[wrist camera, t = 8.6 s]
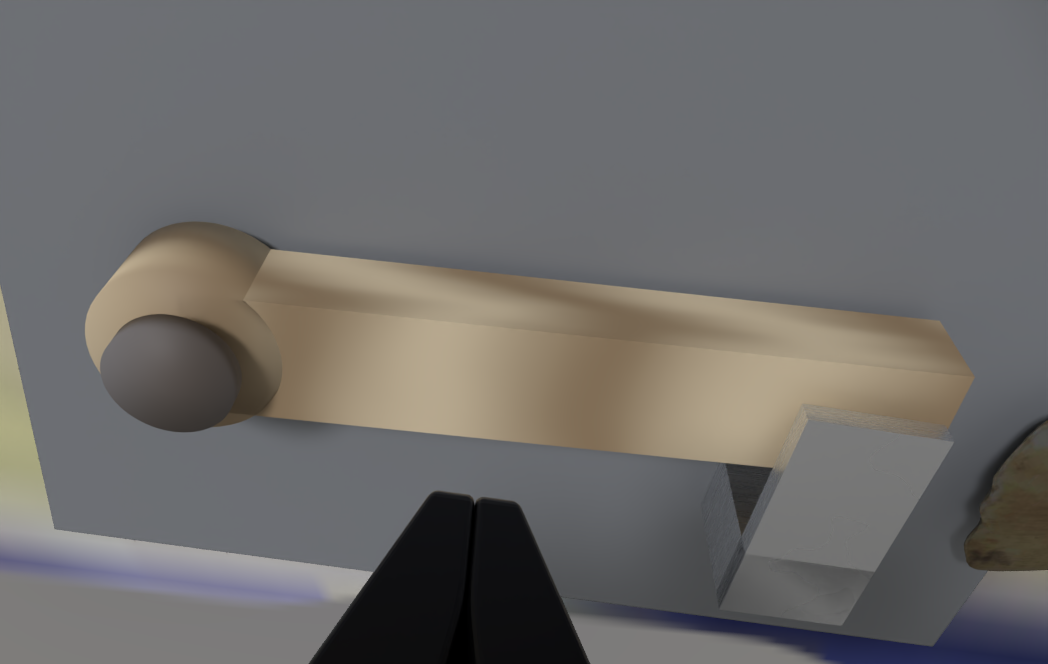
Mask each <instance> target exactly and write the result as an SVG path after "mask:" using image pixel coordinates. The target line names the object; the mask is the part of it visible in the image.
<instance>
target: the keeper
mask: <svg viewBox="0 0 1048 664" xmlns="http://www.w3.org/2000/svg"><path fill="white" fill-rule="evenodd" d="M953 443H954V440H953V438H952V437H951V435H950V433H949V431H948V429H947V427H946V426H945V425H941V424H934V423H928V422H921V421H915V420H908V419H901V418H895V417H888V416H882V415H875V414H868V413H862V412H855V411H849V410H842V409H835V408H829V407H822V406H815V405H809V404H802V405H801V408H800V410H799V412H798V414H797V416H796V419H795V421H794V423H793V425H792V427H791V429H790V432H789V434H788V436H787V438H786V440H785V443H784V445H783V447H782V449H781V451H780V453H779V456H778V458H777V460H776V462H775V464H774V467H773V468H770V467H760V466H750V465H740V464H730V463H720V462H718V464H717V467H716V469H715V472H714V474H713V477H712V479H711V481H710V484H709V486H708V489H707V491H706V494H705V496H704V499H703V501H702V504H701V510H702V516H703V521H704V527H705V533H706V538H707V544H708V550H709V555H710V561H711V567H712V572H713V578H714V583H715V589H716V595H717V600H718V606H719V610H727V611H734V612H742V613H749V614H757V615H764V616H771V617H779V618H786V619H794V620H801V621H809V622H816V623H824V624H831V625H838V626H842V625H843V623H844V621H845V620H846V618H847V617H848V615H849V613H850V612H851V610H852V608H853V607H854V605H855V603H856V602H857V600H858V599H859V597H860V595H861V594H862V592H863V590H864V589H865V587H866V585H867V584H868V582H869V581H870V579H871V577H872V576H873V574H874V572H875V571H876V569H877V568H878V566H879V564H880V563H881V561H882V559H883V558H884V556H885V554H886V553H887V551H888V550H889V548H890V546H891V545H892V543H893V541H894V540H895V538H896V537H897V535H898V533H899V532H900V530H901V528H902V527H903V525H904V523H905V522H906V520H907V519H908V517H909V515H910V514H911V512H912V510H913V509H914V507H915V505H916V504H917V502H918V501H919V499H920V497H921V496H922V494H923V492H924V491H925V489H926V488H927V486H928V484H929V483H930V481H931V479H932V478H933V476H934V474H935V473H936V471H937V470H938V468H939V466H940V465H941V463H942V461H943V460H944V458H945V456H946V455H947V453H948V452H949V450H950V448H951V447H952V445H953Z"/></svg>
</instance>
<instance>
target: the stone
mask: <svg viewBox="0 0 1048 664" xmlns="http://www.w3.org/2000/svg"><path fill="white" fill-rule="evenodd" d="M979 512H980V515H981V517H980V521H979V523H978V525H977V526H976V527H975V528H974V529H973V530H972V531H971V532H970V534H969V535H968V536H967V538H966V540H965V542H964V552H965V557H966V562H967V563H968V565H969V566H970V567H972V568H974V569H977V570H985V571H1030V570H1048V420H1047V421H1045V422H1044V423H1043V424H1041V425H1040V426H1038V427H1037V428H1036V429H1035V430H1034V431H1033V432H1032V433H1031V434H1030V435H1029V436H1027V437H1026V438H1025V439H1024V441H1023V442H1022V443H1021V444H1020V445H1019V446H1018V447H1017V448H1016V449H1015V450H1014V451H1013V452H1012V454H1011V455H1010V456H1009V457H1008V458H1007V459H1006V460H1005V462H1004V463H1003V464H1002V465H1001V467H1000V468H999V469H998V471H997V472H996V474H995V475H994V477H993V484H992V486H991V487H990V489H989V491H988V492H987V494H986V495H985V497H984V498H983V500H982V502H981V504H980V506H979Z"/></svg>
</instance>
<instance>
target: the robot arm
mask: <svg viewBox="0 0 1048 664" xmlns="http://www.w3.org/2000/svg"><path fill="white" fill-rule="evenodd" d="M309 664H590V662H589V660H588V658H587V656H586V653H585V651H584V649H583V646H582V644H581V642H580V639H579V637H578V635H577V633H576V630H575V628H574V626H573V624H572V621H571V619H570V617H569V614H568V612H567V610H566V608H565V605H564V603H563V601H562V599H561V596H560V594H559V592H558V589H557V587H556V585H555V583H554V580H553V578H552V576H551V574H550V571H549V569H548V567H547V564H546V562H545V560H544V558H543V555H542V553H541V551H540V548H539V546H538V544H537V542H536V539H535V537H534V535H533V533H532V530H531V528H530V526H529V523H528V521H527V519H526V517H525V514H524V512H523V510H522V508H521V506H520V505H519V504H518V503H517V502H515V501H511V500H504V499H496V498H489V497H480V498H478V499H477V500H476V502H475V504H474V499H473V497H471V496H470V495H468V494H461V493H453V492H446V491H433V492H432V493H431V494H429V495H428V497H427V498H426V499H425V501H424V502H423V504H422V505H421V506H420V508H419V509H418V511H417V512H416V513H415V515H414V516H413V518H412V519H411V520H410V522H409V523H408V525H407V526H406V527H405V529H404V530H403V532H402V533H401V534H400V536H399V537H398V539H397V540H396V542H395V543H394V544H393V546H392V547H391V549H390V550H389V551H388V553H387V554H386V556H385V557H384V558H383V560H382V561H381V563H380V564H379V565H378V567H377V568H376V570H375V571H374V572H373V574H372V575H371V577H370V578H369V579H368V581H367V582H366V584H365V585H364V587H363V588H362V589H361V591H360V592H359V594H358V595H357V596H356V598H355V599H354V601H353V602H352V603H351V605H350V606H349V608H348V609H347V611H346V612H345V613H344V615H343V616H342V617H341V619H340V620H339V622H338V623H337V625H336V626H335V627H334V629H333V630H332V632H331V633H330V634H329V636H328V637H327V639H326V640H325V641H324V643H323V644H322V646H321V647H320V648H319V650H318V651H317V653H316V654H315V655H314V657H313V658H312V660H311V661H310V663H309Z"/></svg>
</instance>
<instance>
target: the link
mask: <svg viewBox="0 0 1048 664" xmlns="http://www.w3.org/2000/svg"><path fill="white" fill-rule="evenodd" d="M85 338H86V344H87V347H88V350H89V354H90V356H91V358H92V360H93V362H94V364H95V366H96V367H97V369H98V371H99V372H100V374H101V378H102V381H103V384H104V386H105V388H106V390H107V392H108V393H109V395H110V396H111V397H112V399H113V400H114V401H115V402H116V403H117V404H118V405H119V406H120V407H121V408H122V409H123V410H124V411H126V412H127V413H128V414H130V415H131V416H133V417H134V418H136V419H137V420H139V421H141V422H143V423H145V424H148V425H150V426H152V427H155V428H158V429H162V430H166V431H172V432H196V431H202V430H205V429H208V428H210V427H221V426H227V425H232V424H236V423H239V422H242V421H245V420H247V419H249V418H251V417H253V416H264V417H274V418H284V419H294V420H304V421H314V422H324V423H334V424H343V425H353V426H363V427H373V428H383V429H393V430H403V431H413V432H423V433H433V434H443V435H452V436H462V437H472V438H482V439H492V440H502V441H512V442H522V443H532V444H542V445H552V446H561V447H571V448H581V449H591V450H601V451H611V452H621V453H631V454H641V455H651V456H661V457H670V458H680V459H690V460H700V461H710V462H720V463H730V464H740V465H750V466H760V467H770V468H773V467H774V464H775V462H776V460H777V458H778V456H779V453H780V451H781V449H782V447H783V445H784V443H785V440H786V438H787V436H788V434H789V432H790V429H791V427H792V425H793V423H794V421H795V419H796V416H797V414H798V412H799V410H800V408H801V405H802V404H809V405H815V406H822V407H829V408H835V409H842V410H849V411H855V412H862V413H868V414H875V415H882V416H888V417H895V418H901V419H908V420H915V421H921V422H928V423H934V424H941V425H945V426H946V427H947V429H948V428H949V426H950V424H951V422H952V421H953V419H954V417H955V415H956V413H957V411H958V409H959V407H960V405H961V403H962V401H963V399H964V397H965V395H966V393H967V392H968V390H969V388H970V386H971V384H972V382H973V380H974V378H975V376H974V375H973V373H972V372H971V370H970V368H969V367H968V365H967V364H966V362H965V360H964V359H963V357H962V356H961V354H960V352H959V351H958V349H957V348H956V346H955V344H954V343H953V341H952V340H951V338H950V336H949V335H948V333H947V332H946V330H945V328H944V327H943V325H942V324H941V322H940V321H937V320H928V319H918V318H909V317H900V316H890V315H881V314H872V313H862V312H853V311H844V310H834V309H825V308H816V307H806V306H797V305H788V304H778V303H769V302H760V301H750V300H741V299H732V298H722V297H713V296H703V295H694V294H685V293H675V292H666V291H657V290H647V289H638V288H629V287H619V286H610V285H601V284H591V283H582V282H573V281H563V280H554V279H545V278H535V277H526V276H517V275H507V274H498V273H489V272H479V271H470V270H461V269H451V268H442V267H433V266H423V265H414V264H405V263H395V262H386V261H376V260H367V259H358V258H348V257H339V256H330V255H320V254H311V253H302V252H292V251H283V250H274V249H270V248H269V247H267V246H266V245H265V244H263V243H262V242H260V241H259V240H257V239H256V238H254V237H252V236H250V235H248V234H246V233H244V232H242V231H239V230H237V229H234V228H232V227H228V226H224V225H221V224H216V223H210V222H197V221H192V222H181V223H176V224H171V225H168V226H165V227H162V228H160V229H158V230H156V231H154V232H152V233H151V234H149V235H148V236H146V237H145V238H144V239H143V240H142V241H141V242H140V243H139V244H138V245H137V246H136V247H135V249H134V250H133V251H132V252H131V254H130V255H129V256H128V257H127V259H126V260H125V261H124V262H123V264H122V265H121V266H120V267H119V269H118V270H117V271H116V272H115V274H114V275H113V276H112V277H111V279H110V280H109V281H108V282H107V284H106V285H105V286H104V287H103V289H102V290H101V291H100V292H99V294H98V295H97V296H96V297H95V299H94V301H93V302H92V304H91V305H90V308H89V310H88V313H87V317H86V322H85Z"/></svg>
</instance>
